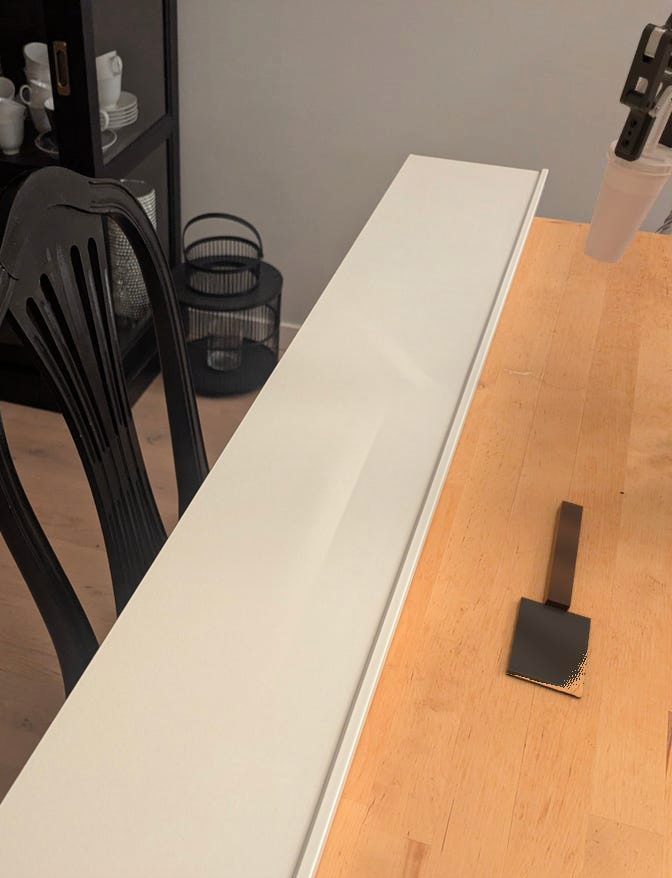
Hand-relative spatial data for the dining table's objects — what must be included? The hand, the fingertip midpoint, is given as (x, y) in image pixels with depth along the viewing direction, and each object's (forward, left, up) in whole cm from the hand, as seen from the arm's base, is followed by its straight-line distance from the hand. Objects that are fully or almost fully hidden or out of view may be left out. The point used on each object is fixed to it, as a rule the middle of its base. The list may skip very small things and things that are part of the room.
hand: (645, 150), depth 83 cm
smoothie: (0, 0, -10) cm, 10 cm away
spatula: (+27, +20, -25) cm, 42 cm away
